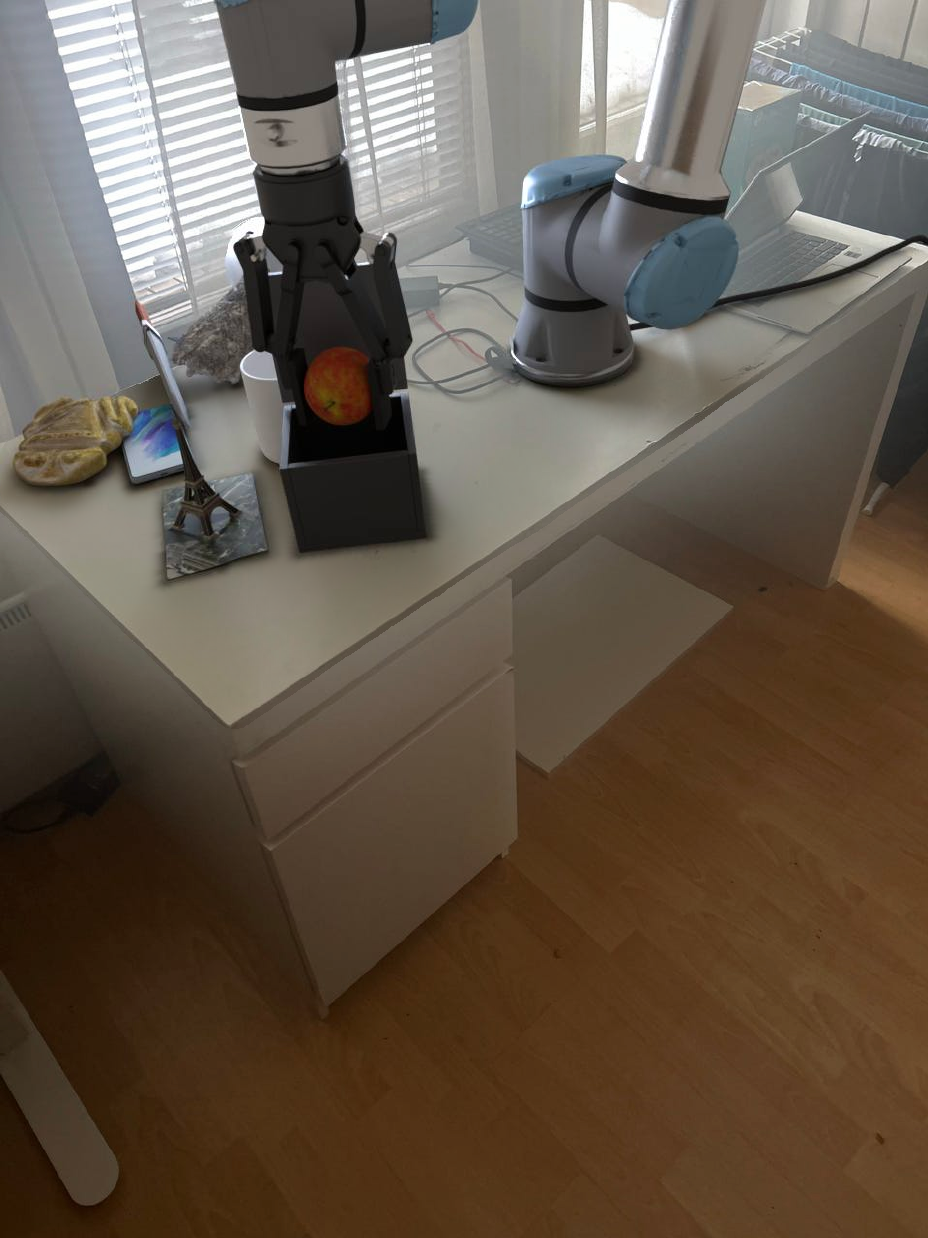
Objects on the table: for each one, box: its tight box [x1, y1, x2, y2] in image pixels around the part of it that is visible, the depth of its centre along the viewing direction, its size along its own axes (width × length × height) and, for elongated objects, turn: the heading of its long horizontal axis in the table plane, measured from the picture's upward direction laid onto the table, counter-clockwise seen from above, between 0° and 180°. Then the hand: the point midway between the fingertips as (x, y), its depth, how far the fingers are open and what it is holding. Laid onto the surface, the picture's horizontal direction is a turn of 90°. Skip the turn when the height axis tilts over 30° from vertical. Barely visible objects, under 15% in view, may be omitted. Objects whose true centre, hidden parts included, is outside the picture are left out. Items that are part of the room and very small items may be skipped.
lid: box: [268, 261, 409, 403], centre depth 87 cm, size 12×13×1 cm
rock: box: [169, 266, 271, 385], centre depth 116 cm, size 19×7×10 cm
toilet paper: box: [225, 216, 283, 289], centre depth 126 cm, size 12×12×12 cm
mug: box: [240, 350, 295, 465], centre depth 100 cm, size 9×12×11 cm
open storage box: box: [278, 391, 427, 554], centre depth 90 cm, size 12×13×10 cm
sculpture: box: [12, 395, 139, 487], centre depth 104 cm, size 13×4×15 cm
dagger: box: [134, 300, 191, 430], centre depth 115 cm, size 7×2×30 cm
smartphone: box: [120, 403, 196, 485], centre depth 105 cm, size 7×1×15 cm
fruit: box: [304, 347, 373, 425], centre depth 84 cm, size 7×7×8 cm
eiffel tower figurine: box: [161, 409, 268, 581], centre depth 89 cm, size 15×10×13 cm
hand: (345, 419), depth 86 cm, fingers closed on fruit, 7 cm apart
